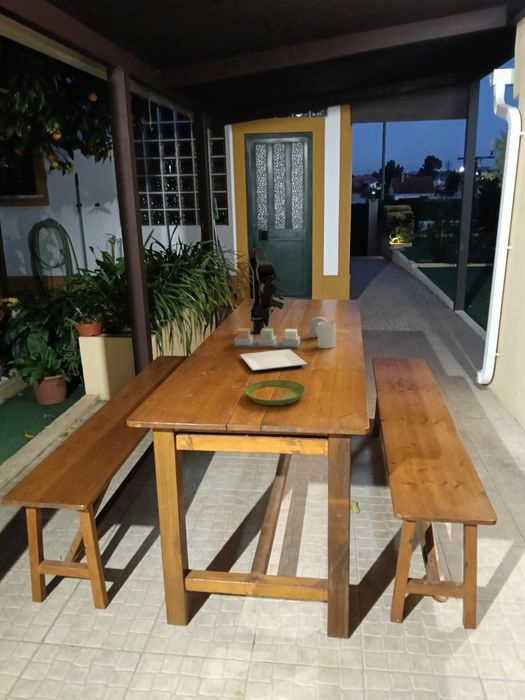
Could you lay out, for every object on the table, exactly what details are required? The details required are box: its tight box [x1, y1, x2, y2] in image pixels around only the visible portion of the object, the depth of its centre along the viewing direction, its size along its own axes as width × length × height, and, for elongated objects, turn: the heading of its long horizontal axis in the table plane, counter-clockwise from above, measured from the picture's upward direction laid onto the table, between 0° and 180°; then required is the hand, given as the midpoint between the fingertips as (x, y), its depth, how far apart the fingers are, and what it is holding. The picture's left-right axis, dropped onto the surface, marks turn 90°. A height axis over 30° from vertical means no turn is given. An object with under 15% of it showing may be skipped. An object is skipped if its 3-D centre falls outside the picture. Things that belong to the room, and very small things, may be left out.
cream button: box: [284, 328, 298, 340], centre depth 247 cm, size 5×5×4 cm
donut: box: [308, 316, 328, 338], centre depth 260 cm, size 10×4×10 cm, turn 83°
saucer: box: [244, 379, 306, 406], centre depth 188 cm, size 21×21×3 cm
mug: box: [317, 320, 336, 349], centre depth 247 cm, size 12×8×10 cm, turn 164°
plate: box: [239, 349, 308, 372], centre depth 225 cm, size 22×22×2 cm
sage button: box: [260, 327, 275, 339], centre depth 250 cm, size 5×5×4 cm
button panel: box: [233, 334, 301, 350], centre depth 251 cm, size 10×29×4 cm, turn 79°
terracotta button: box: [236, 327, 251, 339], centre depth 252 cm, size 5×5×4 cm
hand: (266, 326), depth 249 cm, fingers closed
